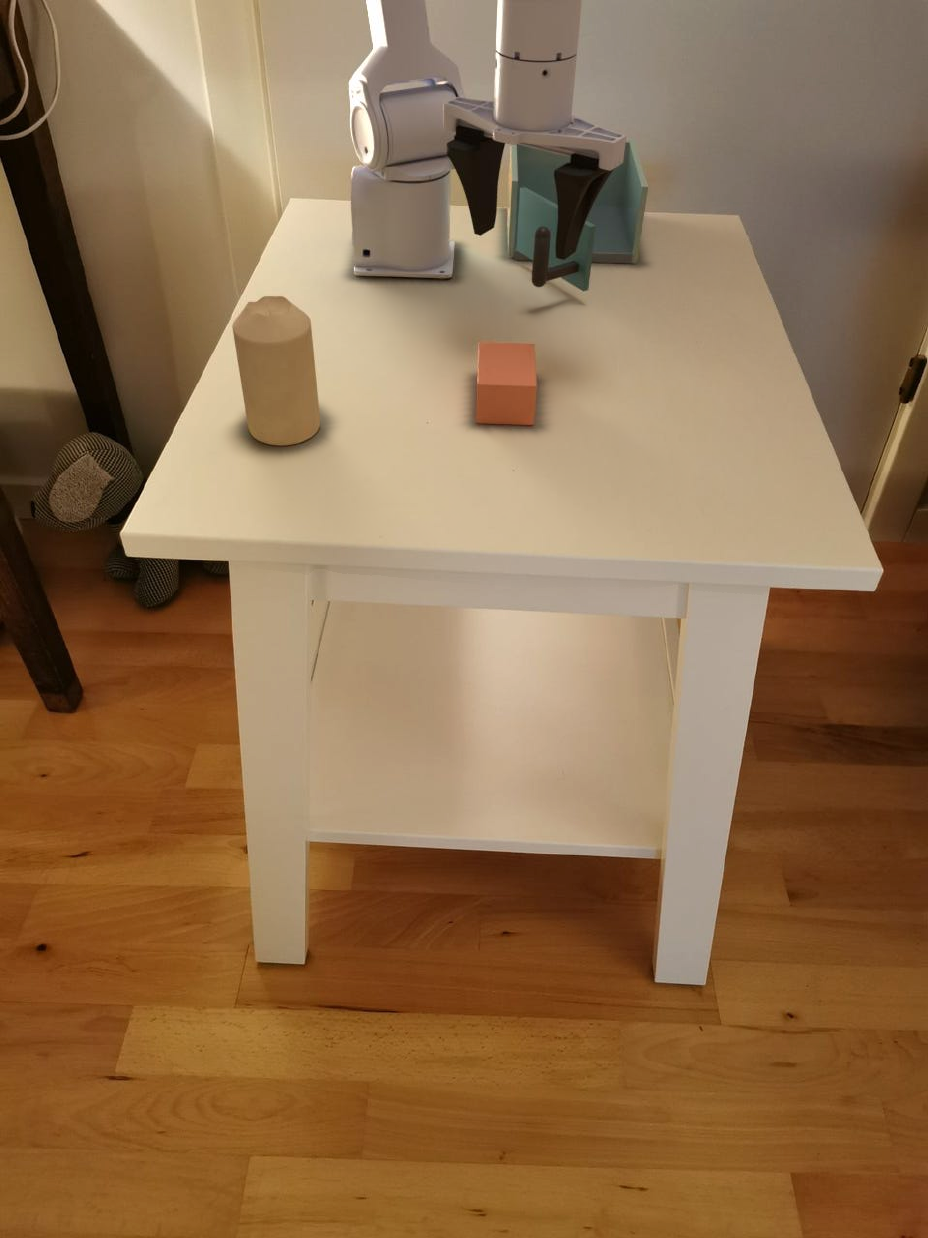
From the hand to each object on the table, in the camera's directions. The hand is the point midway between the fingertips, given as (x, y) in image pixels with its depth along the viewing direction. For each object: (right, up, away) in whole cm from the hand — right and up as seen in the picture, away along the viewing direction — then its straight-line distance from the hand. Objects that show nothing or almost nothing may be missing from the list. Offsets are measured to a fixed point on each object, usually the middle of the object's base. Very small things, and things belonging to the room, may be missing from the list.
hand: (524, 242), depth 77 cm
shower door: (+1, +2, +14) cm, 14 cm away
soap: (-2, -13, +1) cm, 13 cm away
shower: (+6, +10, +24) cm, 27 cm away
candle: (-19, -15, -2) cm, 24 cm away
